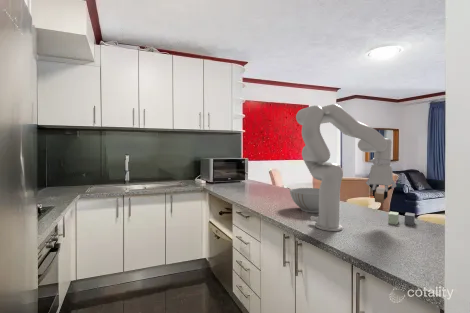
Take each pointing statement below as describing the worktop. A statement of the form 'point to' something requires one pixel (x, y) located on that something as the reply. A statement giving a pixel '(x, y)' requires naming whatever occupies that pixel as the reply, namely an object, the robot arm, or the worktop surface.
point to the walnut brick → (379, 194)
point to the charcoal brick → (409, 218)
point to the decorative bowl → (306, 199)
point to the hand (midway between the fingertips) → (379, 198)
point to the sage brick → (393, 217)
